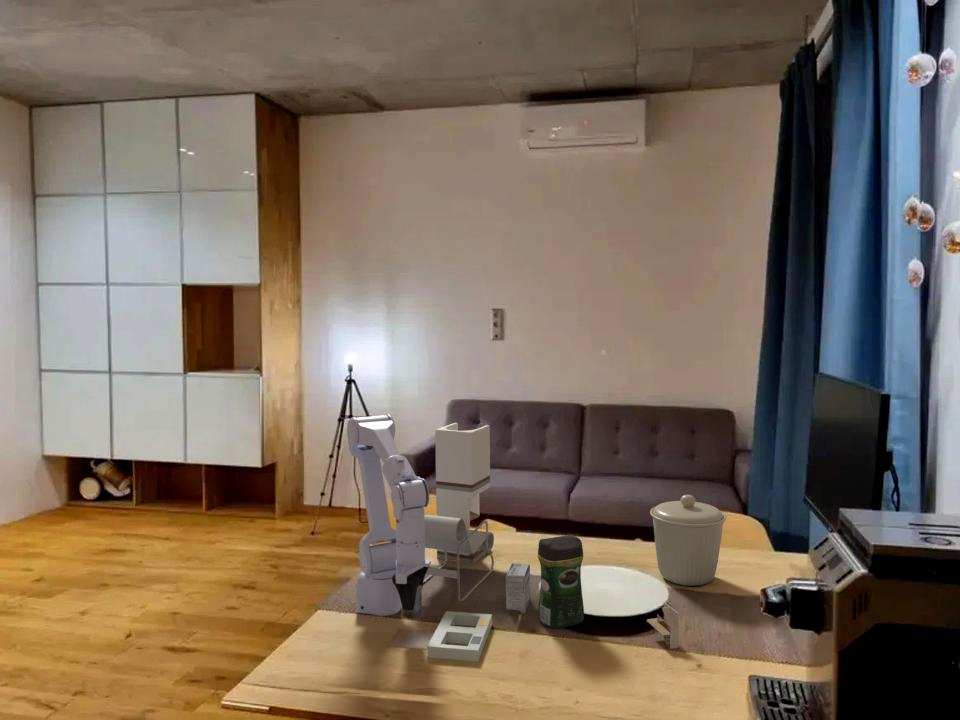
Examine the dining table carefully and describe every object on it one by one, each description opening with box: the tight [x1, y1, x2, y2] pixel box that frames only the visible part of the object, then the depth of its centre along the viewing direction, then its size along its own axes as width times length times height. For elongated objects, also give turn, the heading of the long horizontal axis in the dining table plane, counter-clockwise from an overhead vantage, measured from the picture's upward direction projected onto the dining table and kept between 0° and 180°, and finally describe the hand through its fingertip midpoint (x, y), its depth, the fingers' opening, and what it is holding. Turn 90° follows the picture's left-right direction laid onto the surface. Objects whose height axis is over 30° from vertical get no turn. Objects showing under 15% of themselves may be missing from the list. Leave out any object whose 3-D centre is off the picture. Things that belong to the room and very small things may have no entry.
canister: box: [649, 494, 727, 587], centre depth 181 cm, size 18×18×21 cm
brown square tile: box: [387, 628, 436, 651], centre depth 150 cm, size 8×8×1 cm
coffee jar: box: [537, 533, 585, 629], centre depth 158 cm, size 10×8×19 cm
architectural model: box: [646, 602, 680, 650], centre depth 149 cm, size 3×7×7 cm, turn 15°
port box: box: [426, 610, 493, 663], centre depth 149 cm, size 10×16×3 cm, turn 170°
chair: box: [423, 513, 495, 602], centre depth 180 cm, size 13×25×20 cm, turn 159°
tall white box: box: [434, 422, 491, 565], centre depth 199 cm, size 11×11×35 cm
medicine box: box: [505, 562, 531, 615], centre depth 167 cm, size 8×4×9 cm, turn 168°
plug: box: [401, 583, 423, 620], centre depth 149 cm, size 4×4×7 cm
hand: (411, 604), depth 149 cm, fingers closed on plug, 4 cm apart
